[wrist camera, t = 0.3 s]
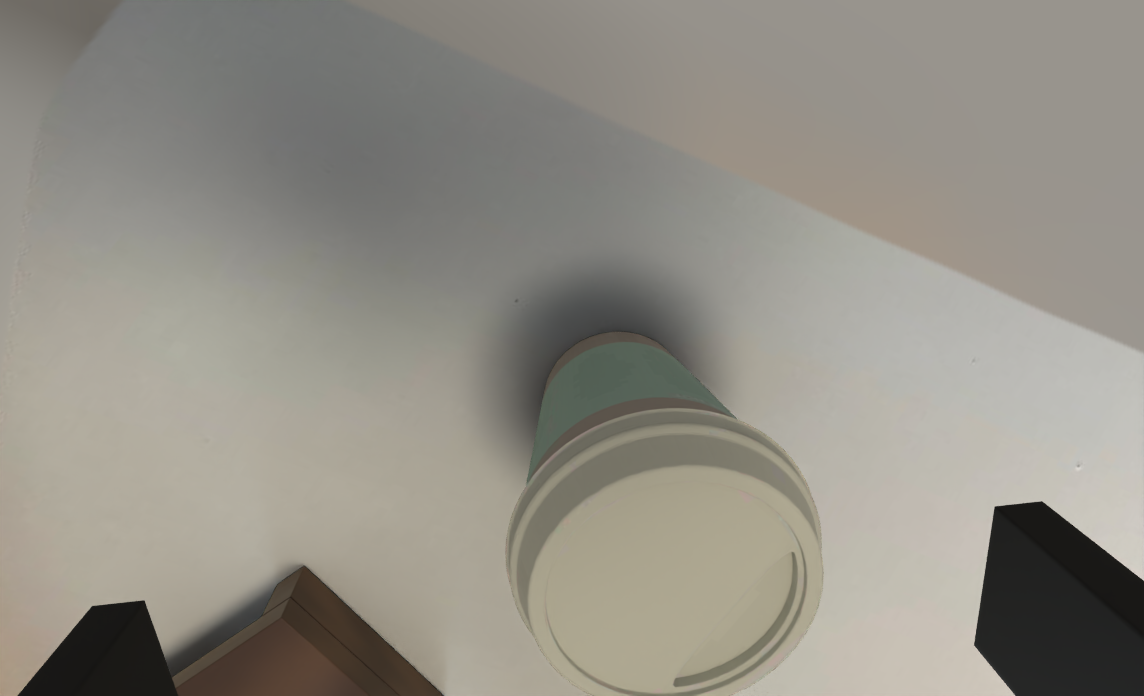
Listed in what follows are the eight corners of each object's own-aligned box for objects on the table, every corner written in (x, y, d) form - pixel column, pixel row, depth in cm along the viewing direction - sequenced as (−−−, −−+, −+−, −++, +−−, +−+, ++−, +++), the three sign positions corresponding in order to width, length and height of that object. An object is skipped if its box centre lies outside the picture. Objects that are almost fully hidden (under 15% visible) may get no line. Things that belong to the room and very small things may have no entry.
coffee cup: (562, 518, 38) (587, 769, 24) (473, 351, 34) (442, 532, 20) (746, 441, 37) (883, 655, 23) (675, 261, 34) (788, 386, 20)
